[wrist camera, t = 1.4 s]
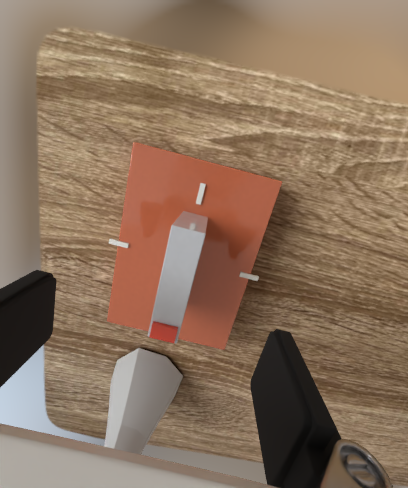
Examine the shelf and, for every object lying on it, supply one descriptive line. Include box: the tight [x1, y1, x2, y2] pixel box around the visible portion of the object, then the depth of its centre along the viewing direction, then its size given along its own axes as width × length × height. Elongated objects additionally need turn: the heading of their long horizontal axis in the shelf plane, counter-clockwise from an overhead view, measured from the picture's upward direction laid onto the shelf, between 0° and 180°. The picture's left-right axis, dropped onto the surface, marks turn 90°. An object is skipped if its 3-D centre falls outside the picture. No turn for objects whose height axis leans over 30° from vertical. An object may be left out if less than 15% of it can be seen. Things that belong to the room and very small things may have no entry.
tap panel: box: [107, 142, 282, 350], centre depth 18 cm, size 14×11×3 cm
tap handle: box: [148, 211, 208, 343], centre depth 15 cm, size 7×2×5 cm, turn 166°
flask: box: [104, 348, 183, 455], centre depth 20 cm, size 7×7×10 cm
